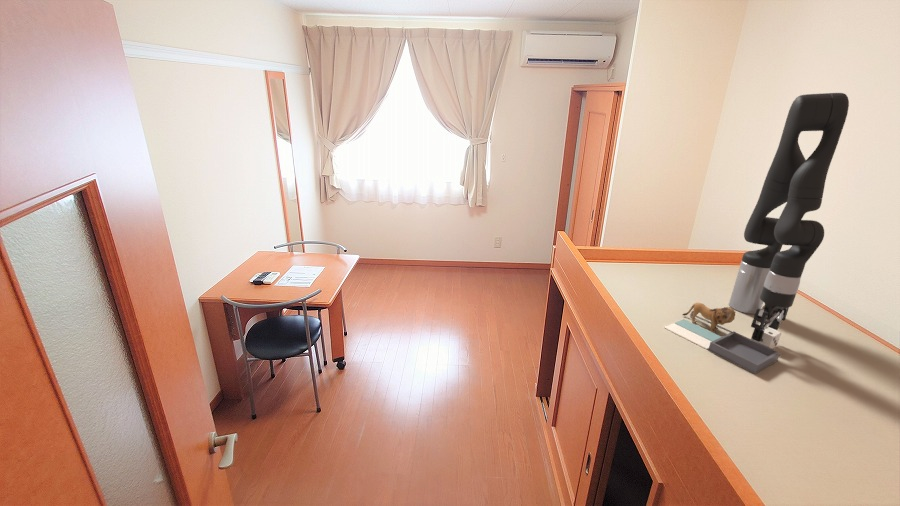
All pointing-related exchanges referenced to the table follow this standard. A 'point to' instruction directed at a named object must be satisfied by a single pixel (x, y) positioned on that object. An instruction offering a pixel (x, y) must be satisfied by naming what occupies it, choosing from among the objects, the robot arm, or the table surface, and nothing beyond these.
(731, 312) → the lion figurine
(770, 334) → the die
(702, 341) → the track
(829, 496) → the table surface
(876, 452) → the table surface
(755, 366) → the dice tray
